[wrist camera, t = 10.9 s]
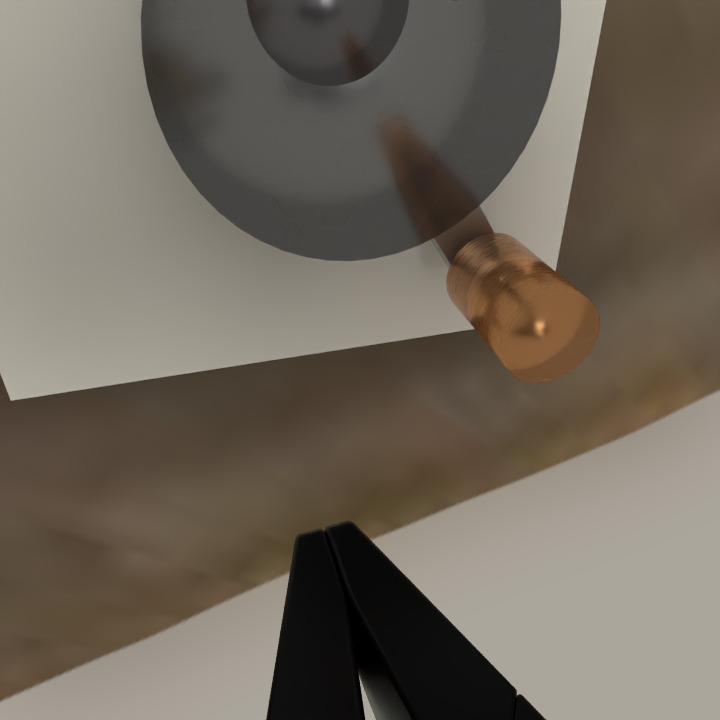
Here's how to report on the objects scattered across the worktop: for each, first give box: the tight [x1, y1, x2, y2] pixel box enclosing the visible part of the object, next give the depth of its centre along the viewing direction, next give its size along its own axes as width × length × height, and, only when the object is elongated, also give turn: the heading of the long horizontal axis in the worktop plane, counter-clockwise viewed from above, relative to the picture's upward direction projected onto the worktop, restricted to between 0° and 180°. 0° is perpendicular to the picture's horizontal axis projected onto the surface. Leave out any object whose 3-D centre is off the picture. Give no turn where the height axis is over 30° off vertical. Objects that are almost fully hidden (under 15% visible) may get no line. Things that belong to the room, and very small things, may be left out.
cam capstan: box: [141, 0, 600, 383], centre depth 13 cm, size 16×9×6 cm, turn 33°
